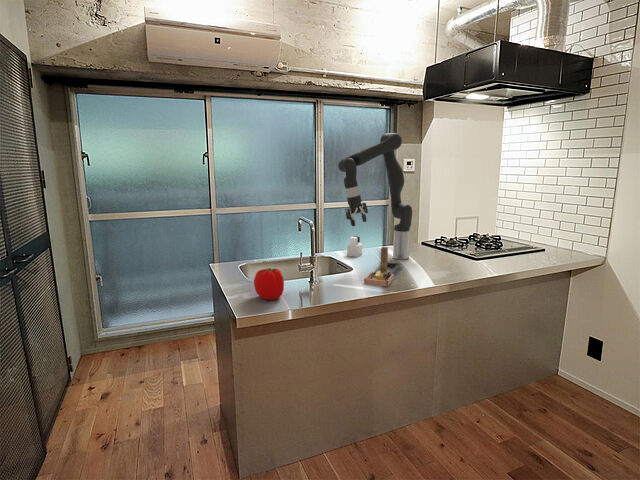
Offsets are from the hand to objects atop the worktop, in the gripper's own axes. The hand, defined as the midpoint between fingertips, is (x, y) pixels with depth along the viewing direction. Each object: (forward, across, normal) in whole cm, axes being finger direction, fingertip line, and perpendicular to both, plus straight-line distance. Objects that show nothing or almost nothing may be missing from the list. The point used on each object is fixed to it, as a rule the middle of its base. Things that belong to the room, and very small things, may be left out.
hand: (359, 223), depth 213 cm
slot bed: (+27, -2, -15) cm, 31 cm away
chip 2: (+25, -13, -22) cm, 36 cm away
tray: (+25, -16, -24) cm, 38 cm away
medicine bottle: (+24, +12, +24) cm, 36 cm away
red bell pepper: (+14, -68, -8) cm, 70 cm away
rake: (+25, -8, -19) cm, 33 cm away
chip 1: (+25, -17, -24) cm, 38 cm away
